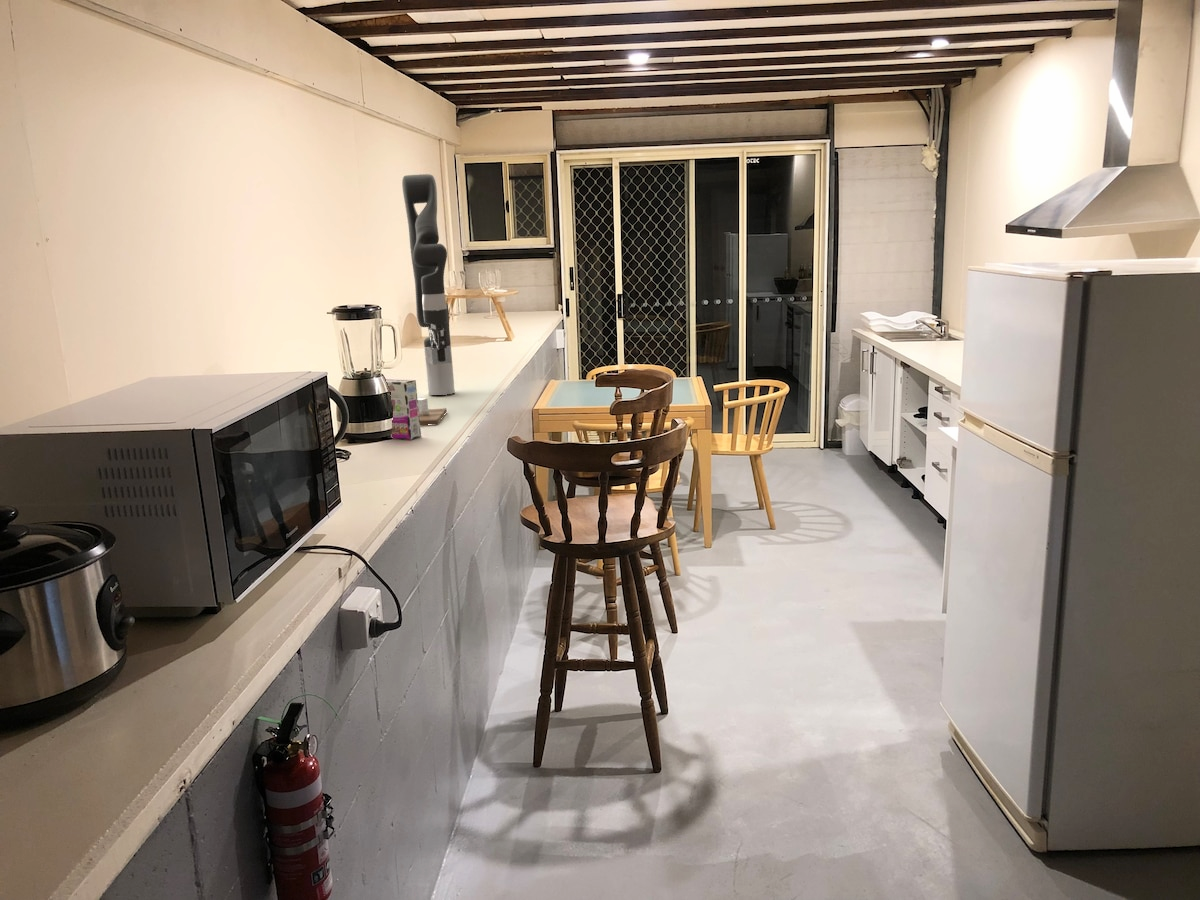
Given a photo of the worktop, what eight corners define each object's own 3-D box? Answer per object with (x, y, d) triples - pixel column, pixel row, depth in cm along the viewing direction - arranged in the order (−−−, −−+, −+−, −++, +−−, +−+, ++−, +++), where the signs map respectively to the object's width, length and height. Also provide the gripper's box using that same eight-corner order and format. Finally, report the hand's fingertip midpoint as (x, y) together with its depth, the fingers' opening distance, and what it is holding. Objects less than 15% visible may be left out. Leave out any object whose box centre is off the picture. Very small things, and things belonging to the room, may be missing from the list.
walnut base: (409, 414, 288) (409, 410, 287) (446, 412, 288) (446, 408, 287) (397, 426, 270) (397, 421, 270) (437, 424, 270) (437, 420, 270)
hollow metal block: (428, 362, 293) (427, 347, 292) (446, 360, 296) (445, 345, 294) (432, 364, 288) (431, 349, 287) (451, 362, 290) (449, 347, 289)
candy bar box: (422, 436, 256) (416, 379, 252) (410, 440, 251) (405, 382, 248) (391, 434, 261) (385, 378, 257) (380, 438, 257) (373, 381, 253)
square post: (416, 416, 278) (415, 399, 277) (422, 414, 281) (420, 398, 279) (422, 416, 277) (421, 400, 276) (428, 415, 279) (427, 398, 278)
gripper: (418, 307, 292) (423, 358, 297) (428, 310, 280) (433, 364, 284) (440, 305, 295) (445, 356, 299) (452, 308, 282) (456, 361, 287)
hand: (439, 359), depth 292 cm, fingers closed on hollow metal block, 6 cm apart
